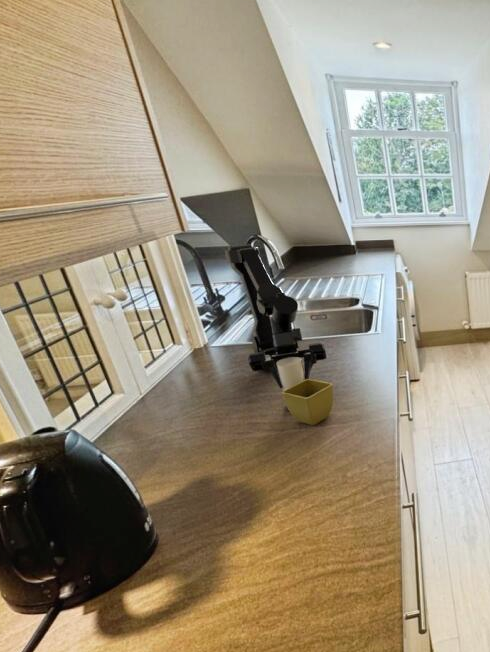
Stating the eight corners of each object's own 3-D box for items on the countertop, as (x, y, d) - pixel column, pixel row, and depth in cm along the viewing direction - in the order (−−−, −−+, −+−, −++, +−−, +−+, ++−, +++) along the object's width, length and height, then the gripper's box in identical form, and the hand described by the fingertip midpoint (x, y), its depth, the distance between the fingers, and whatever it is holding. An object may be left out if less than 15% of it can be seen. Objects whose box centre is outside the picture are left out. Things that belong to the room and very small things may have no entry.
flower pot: (339, 414, 117) (333, 383, 114) (314, 431, 110) (307, 398, 106) (314, 408, 121) (307, 378, 117) (288, 424, 113) (280, 392, 110)
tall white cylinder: (282, 407, 122) (271, 362, 117) (302, 398, 126) (292, 355, 121) (295, 413, 119) (284, 367, 113) (315, 403, 123) (305, 359, 118)
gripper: (239, 324, 113) (248, 381, 108) (318, 313, 120) (329, 366, 115) (248, 344, 123) (257, 397, 118) (321, 333, 130) (331, 382, 125)
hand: (294, 385), depth 119 cm, fingers closed on tall white cylinder, 6 cm apart
